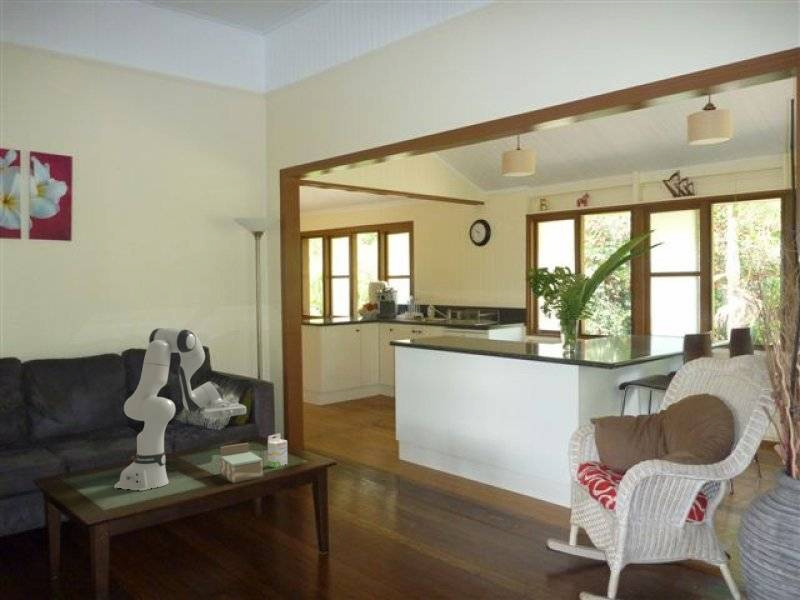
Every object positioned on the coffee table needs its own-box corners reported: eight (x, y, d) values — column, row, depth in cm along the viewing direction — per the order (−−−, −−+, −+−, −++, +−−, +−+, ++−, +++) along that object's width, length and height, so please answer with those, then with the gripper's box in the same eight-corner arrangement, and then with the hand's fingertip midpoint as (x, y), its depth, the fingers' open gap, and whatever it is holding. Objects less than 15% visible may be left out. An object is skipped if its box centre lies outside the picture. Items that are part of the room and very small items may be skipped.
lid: (219, 457, 303) (219, 447, 303) (248, 452, 311) (248, 442, 311) (232, 466, 288) (232, 455, 288) (262, 461, 296) (262, 450, 296)
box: (220, 473, 304) (219, 458, 303) (249, 468, 311) (248, 453, 311) (232, 482, 288) (232, 467, 288) (262, 477, 296) (262, 461, 296)
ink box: (274, 468, 310) (274, 437, 310) (267, 466, 313) (267, 436, 313) (288, 464, 317) (287, 433, 317) (281, 462, 320) (280, 432, 320)
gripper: (199, 405, 317) (207, 410, 305) (240, 401, 328) (250, 405, 316) (199, 418, 317) (208, 423, 305) (240, 413, 328) (250, 418, 316)
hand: (229, 414), depth 311 cm, fingers closed
